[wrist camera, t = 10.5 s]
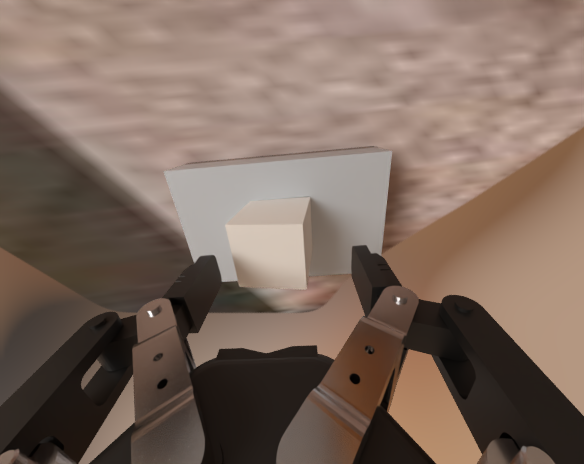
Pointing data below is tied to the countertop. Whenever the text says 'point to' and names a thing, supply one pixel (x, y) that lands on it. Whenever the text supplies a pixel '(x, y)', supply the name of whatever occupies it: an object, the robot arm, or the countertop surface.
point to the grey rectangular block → (288, 184)
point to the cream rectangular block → (272, 243)
